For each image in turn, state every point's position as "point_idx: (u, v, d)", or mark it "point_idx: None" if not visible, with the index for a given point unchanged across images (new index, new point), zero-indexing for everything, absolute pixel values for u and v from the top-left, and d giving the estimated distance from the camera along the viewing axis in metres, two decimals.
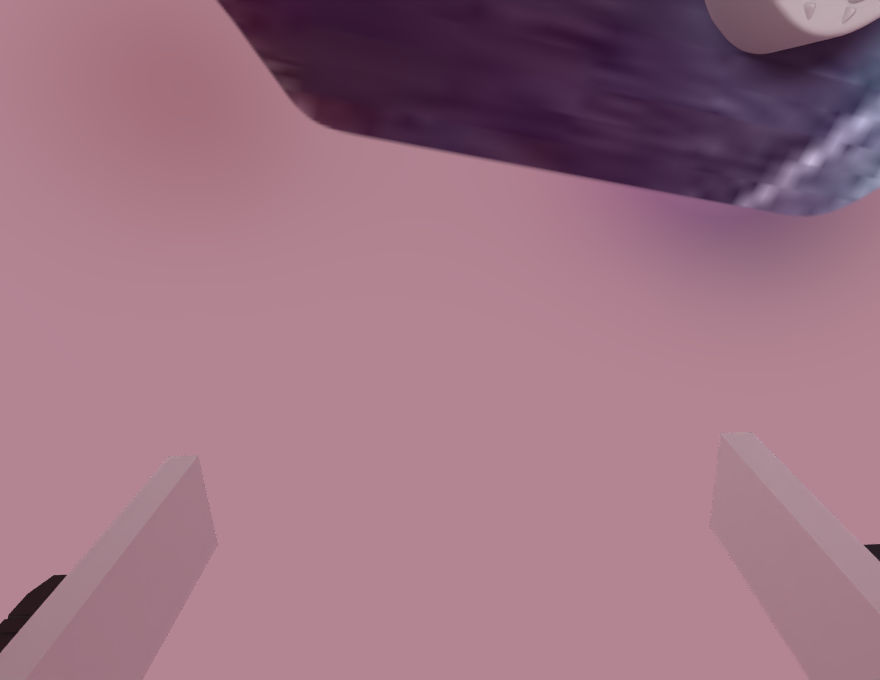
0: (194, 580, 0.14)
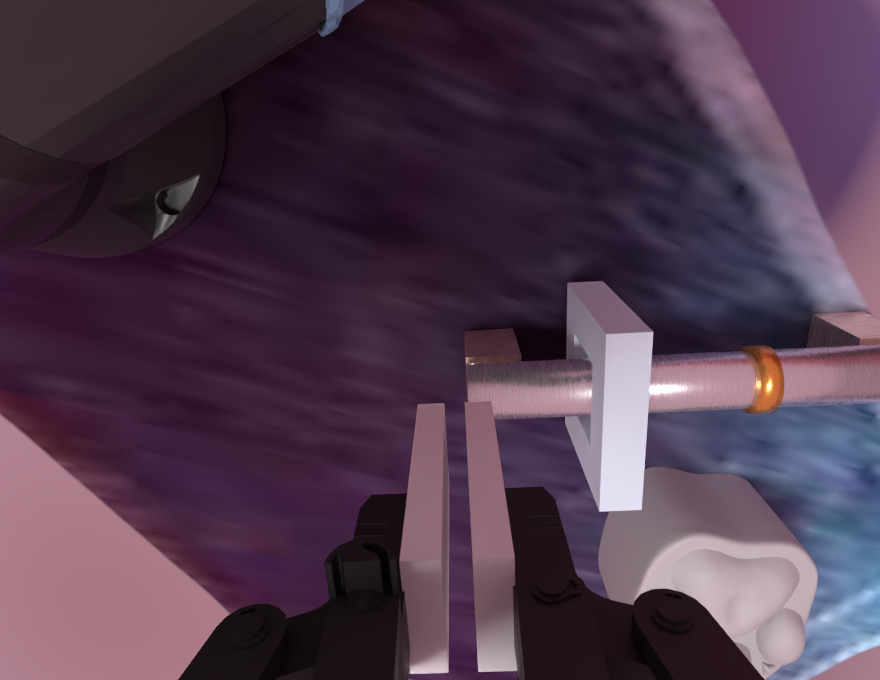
0: (448, 511, 0.16)
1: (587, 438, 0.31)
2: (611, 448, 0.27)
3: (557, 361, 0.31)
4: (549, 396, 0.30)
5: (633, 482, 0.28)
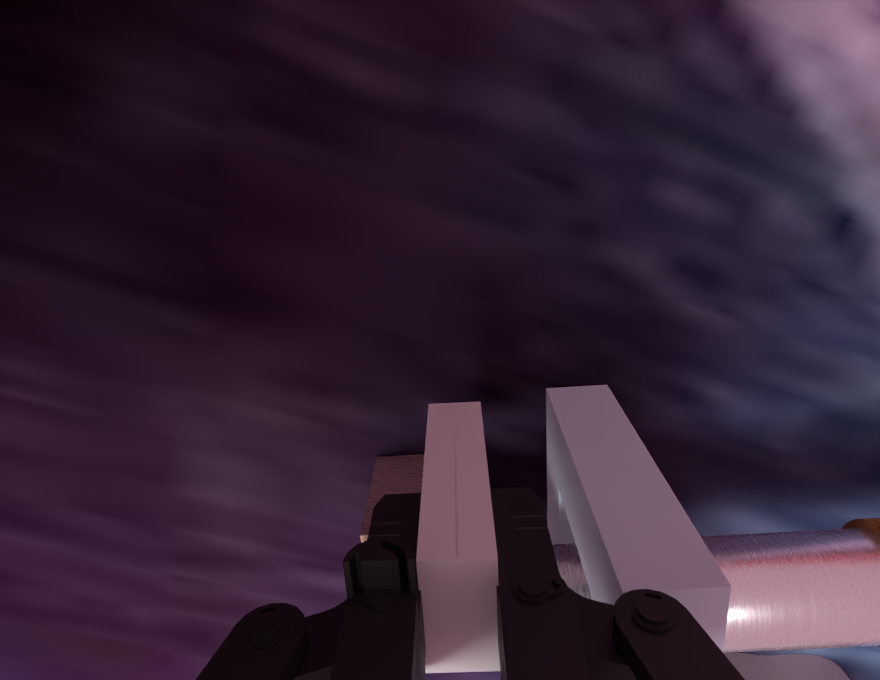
0: None
1: None
2: None
3: None
4: None
5: None
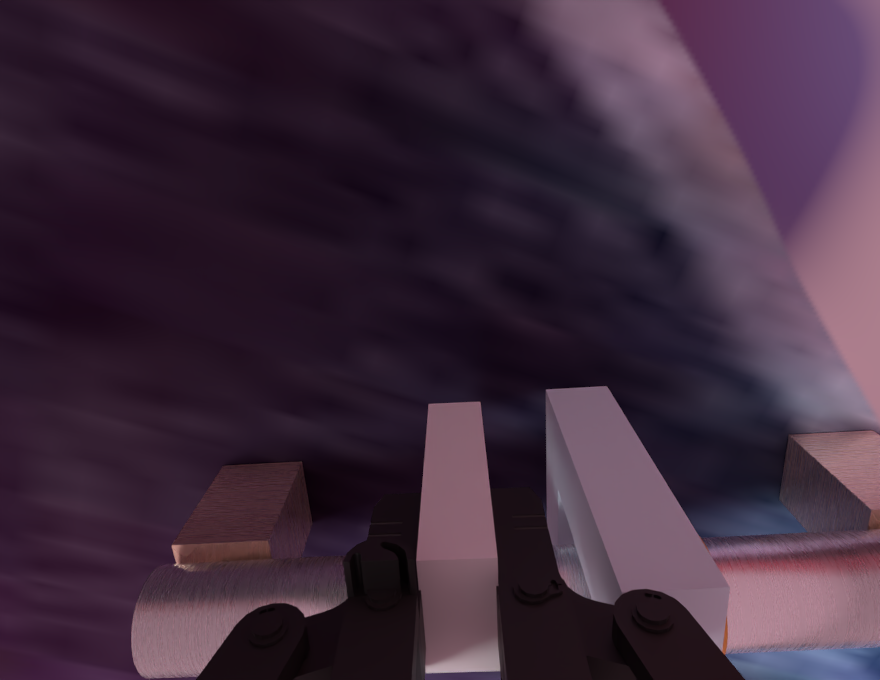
0: None
1: None
2: None
3: (313, 568, 0.17)
4: None
5: None
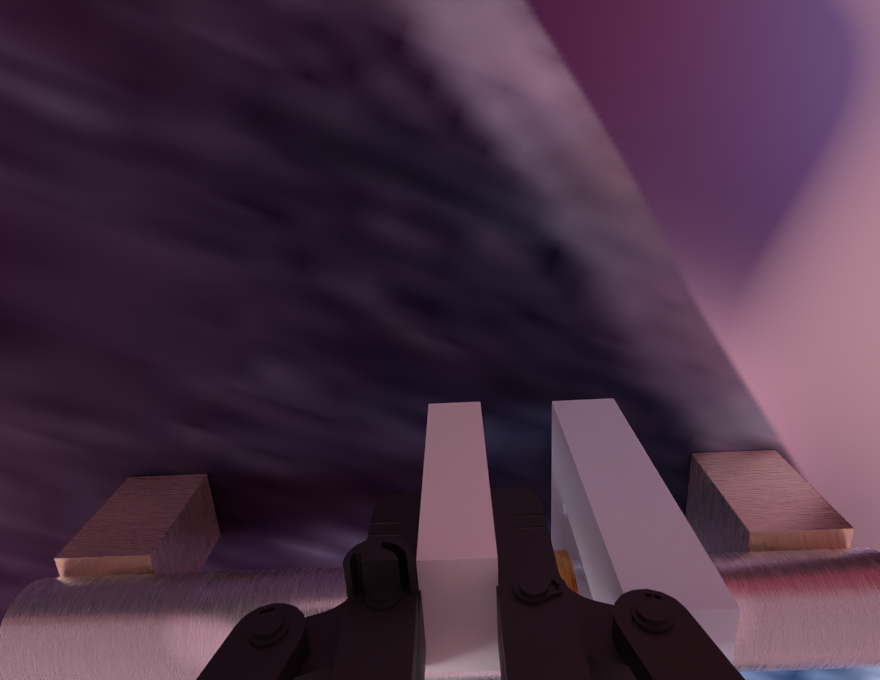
0: None
1: None
2: None
3: (185, 584, 0.17)
4: (145, 665, 0.16)
5: None
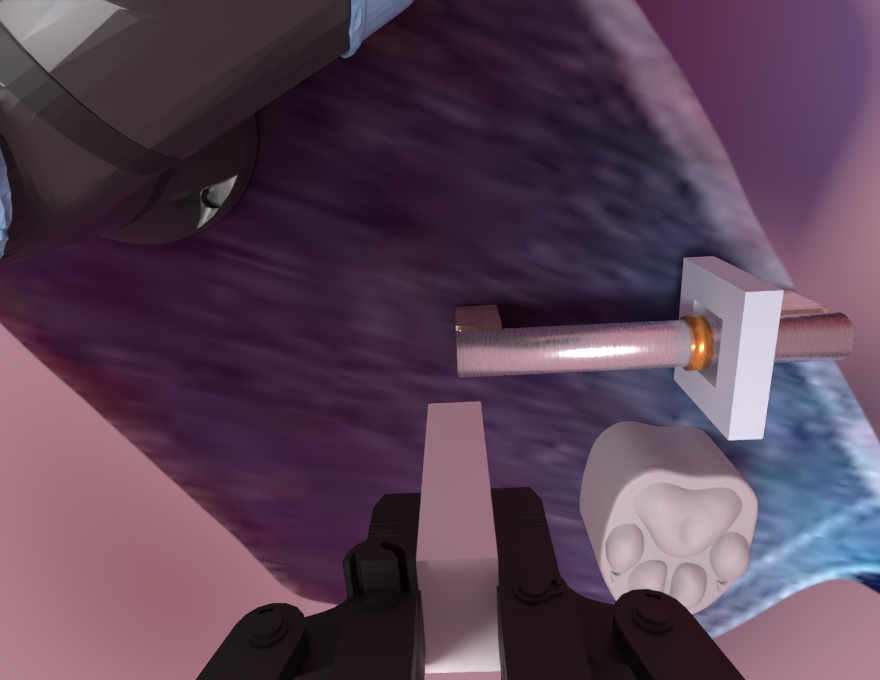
0: None
1: (711, 384, 0.37)
2: (742, 386, 0.34)
3: (530, 328, 0.38)
4: (523, 355, 0.37)
5: (758, 415, 0.34)
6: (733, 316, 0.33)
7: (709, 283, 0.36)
